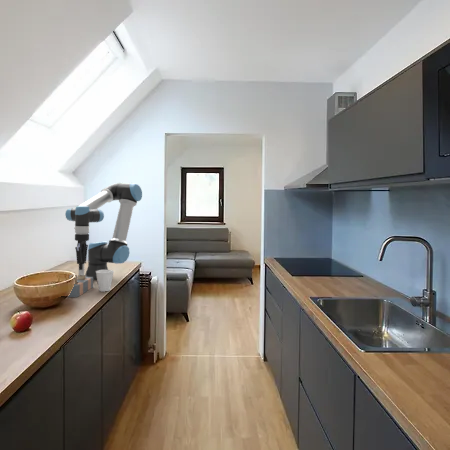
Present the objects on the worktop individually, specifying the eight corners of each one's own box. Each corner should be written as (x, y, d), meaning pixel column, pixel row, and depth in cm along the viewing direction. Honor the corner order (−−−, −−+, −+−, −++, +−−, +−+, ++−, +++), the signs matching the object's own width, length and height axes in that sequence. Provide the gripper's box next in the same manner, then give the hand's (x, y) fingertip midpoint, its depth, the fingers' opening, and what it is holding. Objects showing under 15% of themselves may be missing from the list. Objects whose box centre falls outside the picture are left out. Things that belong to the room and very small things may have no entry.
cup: (99, 293, 220) (99, 273, 220) (92, 289, 228) (92, 270, 227) (116, 291, 227) (116, 271, 226) (109, 287, 234) (109, 269, 234)
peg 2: (79, 285, 231) (79, 274, 230) (86, 285, 231) (86, 275, 230) (76, 286, 227) (76, 276, 226) (83, 286, 227) (83, 276, 226)
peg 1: (70, 285, 219) (71, 274, 218) (78, 285, 218) (78, 274, 218) (67, 287, 215) (67, 276, 214) (75, 287, 214) (75, 276, 214)
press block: (77, 286, 235) (77, 276, 234) (93, 287, 235) (93, 277, 234) (59, 296, 211) (59, 285, 210) (76, 297, 211) (77, 285, 210)
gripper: (79, 232, 233) (79, 272, 235) (70, 234, 220) (70, 277, 222) (92, 232, 233) (92, 273, 234) (84, 234, 220) (83, 277, 221)
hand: (81, 275), depth 228 cm, fingers closed
